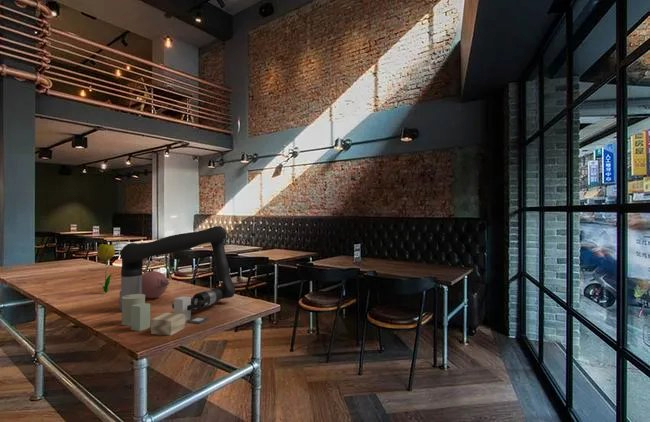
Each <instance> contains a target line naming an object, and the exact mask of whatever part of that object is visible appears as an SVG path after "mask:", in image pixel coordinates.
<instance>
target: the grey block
mask: <svg viewBox="0 0 650 422" xmlns="http://www.w3.org/2000/svg"><path fill="white" fill-rule="evenodd" d="M191 298H192V297H191V296H183V295H182V296H178V297H176V298H173V304H174V309H173V313H176V314H185V322H187V321H188V320H191V319H192V316H191V315H192V313H191V312H192V310H189V311H188V310H187V306H188V305H191Z"/></svg>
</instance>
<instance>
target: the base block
mask: <svg viewBox="0 0 650 422" xmlns="http://www.w3.org/2000/svg"><path fill="white" fill-rule="evenodd" d="M185 328H186V321H185V314H176V313H174V312H164V313H162V314H161V315H158V316H155V317H154V318H150V333H151V334H152V335H160V336H161V335H162V336H173V335H174V334H177V333H179V332H180V331H182V330H183V329H185Z"/></svg>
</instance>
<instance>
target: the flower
mask: <svg viewBox="0 0 650 422" xmlns="http://www.w3.org/2000/svg"><path fill="white" fill-rule="evenodd" d="M114 247H115V246H114V245H113V244H109V243H108V244H107V243H105V244H104V243H102V244H99V246H98V247H97V251H96V252H97V256H98V258H99V259H100V260H103V261H104V262H105V265H107V262H108V261H109V260H111V259H113V257H114V256H115V254H116V250H115V248H114ZM113 275H114V274H113V273H111V274H109V275H108V276H107V271H105V276H104V277H105V281H104V285H103V284H102V283H99V285H101V286H102V289H103V292H104V293H106V294H107V292H108V291H109V285H110V283H111V282H110V281H111V278H112V276H113Z"/></svg>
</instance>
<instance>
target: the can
mask: <svg viewBox="0 0 650 422" xmlns="http://www.w3.org/2000/svg"><path fill="white" fill-rule="evenodd" d="M139 303H146V298H145V295H144V294H131V295H126V296H123V297H122V311H121V323H120V324H121V325H122V326H130V327H131V306H132V305H135V304H139Z"/></svg>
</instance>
